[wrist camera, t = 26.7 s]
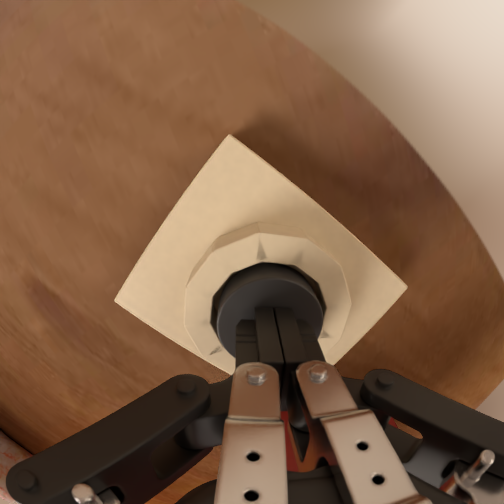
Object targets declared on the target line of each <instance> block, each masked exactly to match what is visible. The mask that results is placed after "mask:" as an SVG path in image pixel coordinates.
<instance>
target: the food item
mask: <svg viewBox="0 0 504 504" xmlns="http://www.w3.org/2000/svg"><path fill="white" fill-rule="evenodd" d="M31 456H33V455H32V454H30V453H29V452H28V451H27V450H25V449H24V448H22V447H21V446H19V445H18V444H17V443H15V442H14V441H13V440H11V439H10V438H9V437H7V436H6V435H5V434H4V433H3V432H2V431H1V430H0V497H1V498H2V499H4V500H6V501H7V502H9V503H11V504H13V503H15V502H16V501H15V500H14V499H13V498H12V497H11V496H10V494H9V493H8V491H7V488H6V476H7V473H8V471H9V470H10V469H11V467H13V466H14V465H15V464H17V463H19V462H21V461H23V460H25V459H27V458H29V457H31Z"/></svg>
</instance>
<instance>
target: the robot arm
mask: <svg viewBox="0 0 504 504" xmlns="http://www.w3.org/2000/svg"><path fill="white" fill-rule="evenodd" d="M281 411H287V412H288V422H287V431H288V434H289V438H290V442H291V445H292V449H293V453H294V456H295V460H296V464H297V467H298V472H295V471H287V467H286V447H285V429H284V421H283V420H281ZM391 417H392V418H394V419H396V420H398V421H400V422H402V423H404V424H406V425H408V426H409V427H411V428H413V429H415V430H417V431H419V432H420V433H421V434H422V436H423V438H422V439H418V438H415V437H413V436H411V435H409V434H407V433H405V432H404V431H402V430H400V429H398V428H396V427H394V426H392V425H391V424H389V420H390V418H391ZM218 445H222V447H221V454H220V462H219V469H218V476H217V479H216V480H212V481H209V482H207V483H204V484H202V485H200V486H198V487H196V488H194V489H193V490H191V491H190V492H188V493H187V494H186V495H185V496H183V497H182V498H181V499H180V500H179V501H178V502H176V503H175V504H504V422H501V421H499V420H497V419H494V418H492V417H490V416H487V415H485V414H483V413H480V412H478V411H476V410H474V409H471V408H469V407H467V406H465V405H463V404H460V403H458V402H456V401H454V400H452V399H449V398H447V397H445V396H443V395H441V394H439V393H436V392H434V391H432V390H430V389H428V388H426V387H424V386H422V385H419V384H417V383H415V382H413V381H411V380H409V379H407V378H405V377H403V376H401V375H399V374H397V373H395V372H392V371H390V370H385V369H376V370H372V371H370V372H368V373H367V374H366V375H365V377H364V380H359V379H351V378H346V377H342V376H340V374H339V372H338V370H337V369H336V368H335V367H334V366H333V365H331V364H329V363H327V362H326V360H325V357H324V355H323V352H322V349H321V347H320V344H319V342H318V339H317V337H316V335H315V332H314V329H313V327H312V325H311V324H309V323H308V322H307V321H306V320H305V319H295V316H294V313H293V310H292V308H291V307H290V308H263V307H254V317H253V320H251V319H241V320H240V321H239V323H238V324H237V325H236V345H235V371H234V373H233V374H232V375H231V376H230V377H229V378H228V379H226V380H224V381H221V382H218V383H213V384H208V382H207V381H206V380H205V379H203V378H201V377H199V376H196V375H192V374H183V375H177V376H175V377H172V378H170V379H169V380H167V381H166V382H164V383H162V384H161V385H159V386H158V387H156V388H154V389H153V390H151V391H149V392H148V393H146V394H144V395H143V396H141V397H139V398H138V399H136V400H134V401H133V402H131V403H129V404H128V405H126V406H124V407H122V408H121V409H119V410H117V411H116V412H114V413H112V414H110V415H109V416H107V417H105V418H103V419H102V420H100V421H98V422H96V423H94V424H93V425H91V426H89V427H87V428H85V429H83V430H82V431H80V432H78V433H76V434H74V435H72V436H70V437H69V438H67V439H65V440H63V441H61V442H59V443H57V444H55V445H53V446H51V447H49V448H47V449H45V450H43V451H41V452H39V453H37V454H35V455H33V456H31V457H29V458H27V459H25V460H23V461H21V462H19V463H17V464H15V465H14V466H13V467H11V469H10V470H9V471H8V473H7V476H6V488H7V491H8V493H9V494H10V496H11V497H12V498H13V499H14V500H15V501H16V502H17V503H18V504H144V503H146V502H147V501H149V500H150V499H151V498H153V497H154V496H155V495H157V494H158V493H160V492H161V491H162V490H164V489H165V488H166V487H168V486H169V485H170V484H172V483H173V482H174V481H175V480H177V479H178V478H179V477H181V476H182V475H183V474H184V473H186V472H187V471H188V470H189V469H191V468H192V467H193V466H194V465H196V464H197V463H198V462H199V461H200V460H202V459H203V458H204V457H205V456H206V455H208V454H209V453H210V452H211V451H212V449H213V447H214V446H218Z"/></svg>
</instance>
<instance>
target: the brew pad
mask: <svg viewBox="0 0 504 504" xmlns="http://www.w3.org/2000/svg"><path fill="white" fill-rule="evenodd" d="M260 263H279V264H283V265H286V266H289V267H291V268H293V269H295V270H297V271H298V272H300V273H301V274H302V275H303V276H304V277H305V278H306V279H307V280H308V282H309V284H310V285H311V287H312V289H313V291H314V293H315V295H316V297H317V299H318V301H319V303H320V306H321V308H322V312H323V326H322V330H321V333H320V336H319V338H318V342H319V344H320V347H321V349H322V352H323V355H324V357H325V360H326V362H327V363H329V364H331V365H334V364H335V363H336V362H338V361H339V360H340V359H341V358H342V357H343V356H344V355H345V354H346V353H347V352H348V351H349V350H350V349H351V348H352V347H353V346H354V345H355V344H356V343H357V342H358V341H359V340H360V339H361V338H362V337H363V336H364V335H365V334H366V333H367V332H368V331H369V330H370V329H371V328H372V327H373V326H374V325H375V323H376V322H377V321H378V320H379V319H380V318H381V317H382V316H383V315H384V314H385V313H386V312H387V311H388V309H389V308H390V307H391V306H392V305H393V304H394V303H395V302H396V300H397V299H398V298H399V297H400V296H401V295H402V294H403V292H404V291H405V290H406V289H407V288H408V287H407V285H406V284H405V283H404V282H403V281H402V280H401V279H400V278H399V277H398V276H397V275H396V274H395V273H394V272H393V271H392V270H391V269H389V268H388V267H387V266H386V265H385V264H384V263H383V262H382V261H381V260H380V259H379V258H378V257H377V256H376V255H375V254H374V253H373V252H372V251H370V250H369V249H368V248H367V247H366V246H365V245H364V244H363V243H362V242H361V241H360V240H358V239H357V238H356V237H355V236H354V235H353V234H352V233H351V232H350V231H348V230H347V229H346V228H345V227H344V226H343V225H342V224H341V223H339V222H338V221H337V220H336V219H335V218H334V217H333V216H331V215H330V214H329V213H328V212H327V211H326V210H325V209H323V208H322V207H321V206H320V205H319V204H317V203H316V202H315V201H314V200H313V199H312V198H310V197H309V196H308V195H307V194H306V193H304V192H303V191H302V190H301V189H300V188H298V187H297V186H296V185H295V184H293V183H292V182H291V181H290V180H289V179H287V178H286V177H285V176H284V175H282V174H281V173H280V172H279V171H277V170H276V169H275V168H274V167H272V166H271V165H270V164H269V163H267V162H266V161H265V160H263V159H262V158H261V157H260V156H258V155H257V154H256V153H254V152H253V151H252V150H250V149H249V148H248V147H246V146H245V145H244V144H242V143H241V142H240V141H238V140H237V139H236V138H234V137H233V136H232V135H230V134H229V135H227V136H226V138H225V139H224V140H223V142H222V143H221V144H220V145H219V147H218V148H217V149H216V150H215V152H214V153H213V154H212V156H211V157H210V158H209V160H208V161H207V162H206V164H205V165H204V166H203V168H202V169H201V170H200V172H199V173H198V174H197V176H196V177H195V178H194V180H193V181H192V182H191V184H190V185H189V186H188V188H187V189H186V191H185V192H184V193H183V195H182V196H181V198H180V199H179V200H178V202H177V203H176V205H175V206H174V208H173V209H172V210H171V212H170V213H169V215H168V216H167V218H166V219H165V221H164V222H163V224H162V225H161V226H160V228H159V229H158V231H157V232H156V234H155V235H154V237H153V238H152V240H151V241H150V243H149V245H148V246H147V248H146V249H145V251H144V252H143V254H142V255H141V257H140V258H139V260H138V262H137V263H136V265H135V266H134V268H133V270H132V271H131V273H130V274H129V276H128V278H127V279H126V281H125V283H124V284H123V286H122V287H121V289H120V291H119V292H118V294H117V296H116V297H115V299H114V301H115V302H116V303H117V304H119V305H120V306H122V307H123V308H125V309H126V310H127V311H129V312H130V313H132V314H133V315H135V316H136V317H138V318H139V319H140V320H142V321H143V322H145V323H146V324H148V325H149V326H151V327H152V328H154V329H155V330H157V331H159V332H160V333H162V334H163V335H165V336H166V337H168V338H169V339H171V340H173V341H174V342H176V343H177V344H179V345H181V346H182V347H184V348H186V349H187V350H189V351H190V352H192V353H194V354H195V355H197V356H199V357H201V358H202V359H204V360H206V361H207V362H209V363H211V364H213V365H214V366H216V367H218V368H220V369H221V370H223V371H225V372H227V373H229V374H230V375H232V374H233V373H234V371H235V358H234V357H233V356H232V355H230V354H229V353H228V352H227V350H226V349H225V348H224V347H223V345H222V344H221V341H220V339H219V337H218V333H217V314H218V306H219V299H220V296H221V293H222V290H223V288H224V286H225V285H226V284H227V282H228V281H229V280H230V279H231V278H232V277H233V276H234V275H235V274H236V273H238V272H239V271H241V270H242V269H244V268H247V267H249V266H252V265H255V264H260Z"/></svg>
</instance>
